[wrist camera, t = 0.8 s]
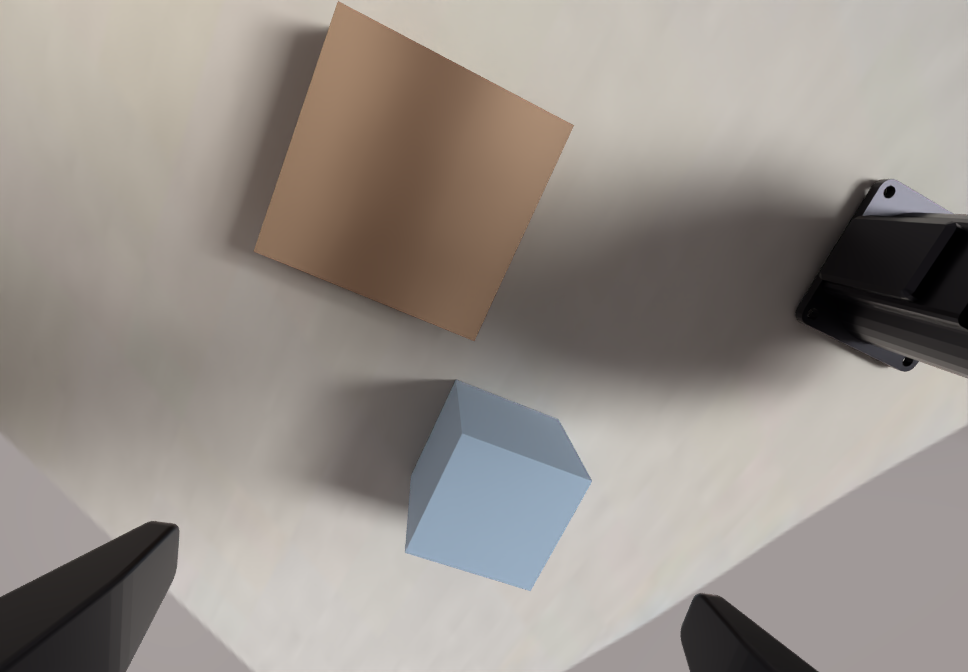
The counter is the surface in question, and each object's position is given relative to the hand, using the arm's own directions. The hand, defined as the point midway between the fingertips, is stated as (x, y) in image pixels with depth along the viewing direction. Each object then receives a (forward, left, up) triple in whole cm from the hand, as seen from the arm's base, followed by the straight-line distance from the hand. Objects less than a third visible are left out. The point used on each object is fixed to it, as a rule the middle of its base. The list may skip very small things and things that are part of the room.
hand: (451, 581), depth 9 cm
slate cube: (-4, +3, -13) cm, 14 cm away
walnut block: (+3, -6, -13) cm, 15 cm away
